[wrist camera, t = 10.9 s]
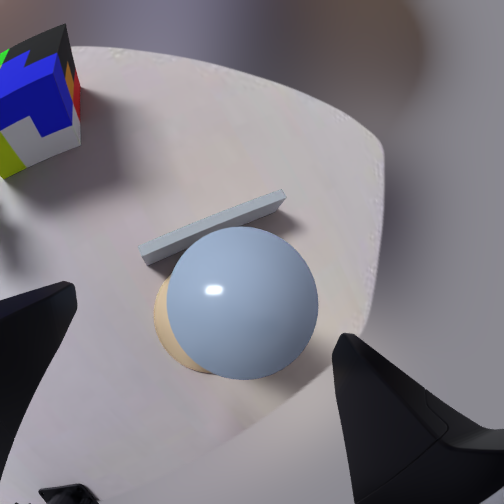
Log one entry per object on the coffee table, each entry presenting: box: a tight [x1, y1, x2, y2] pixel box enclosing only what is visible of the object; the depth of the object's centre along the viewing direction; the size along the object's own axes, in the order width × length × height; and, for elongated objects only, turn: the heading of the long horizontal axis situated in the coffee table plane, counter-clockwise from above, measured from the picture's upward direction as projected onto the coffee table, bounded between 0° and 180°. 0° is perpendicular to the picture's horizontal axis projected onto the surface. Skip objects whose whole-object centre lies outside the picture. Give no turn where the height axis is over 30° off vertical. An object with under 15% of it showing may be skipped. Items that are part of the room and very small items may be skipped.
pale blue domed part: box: [167, 227, 318, 380], centre depth 15 cm, size 5×5×12 cm
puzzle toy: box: [0, 24, 81, 179], centre depth 17 cm, size 10×10×10 cm
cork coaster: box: [154, 275, 212, 373], centre depth 21 cm, size 9×9×1 cm
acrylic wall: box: [138, 189, 287, 266], centre depth 22 cm, size 12×1×3 cm, turn 117°
